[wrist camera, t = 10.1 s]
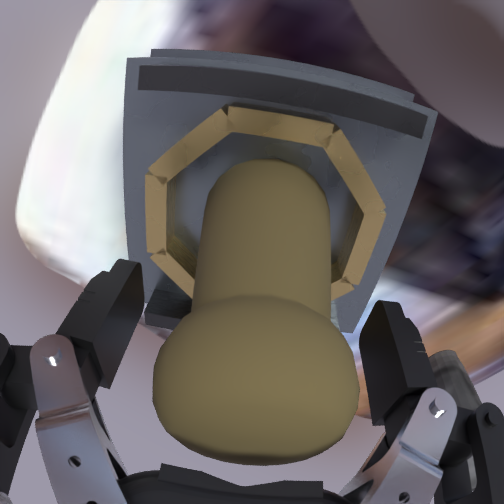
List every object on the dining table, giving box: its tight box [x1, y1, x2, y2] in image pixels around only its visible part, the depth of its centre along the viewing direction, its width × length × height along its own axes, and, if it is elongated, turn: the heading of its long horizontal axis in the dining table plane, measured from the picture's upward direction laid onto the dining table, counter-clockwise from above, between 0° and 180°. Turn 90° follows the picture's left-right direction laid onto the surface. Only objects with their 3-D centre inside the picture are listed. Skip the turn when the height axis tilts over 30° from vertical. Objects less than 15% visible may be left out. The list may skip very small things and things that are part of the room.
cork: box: [153, 159, 360, 466], centre depth 11 cm, size 6×6×11 cm
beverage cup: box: [429, 350, 482, 491], centre depth 20 cm, size 7×7×20 cm
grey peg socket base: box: [123, 49, 438, 333], centre depth 16 cm, size 15×15×7 cm
